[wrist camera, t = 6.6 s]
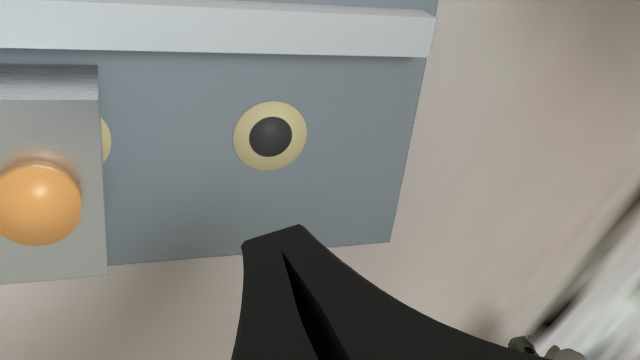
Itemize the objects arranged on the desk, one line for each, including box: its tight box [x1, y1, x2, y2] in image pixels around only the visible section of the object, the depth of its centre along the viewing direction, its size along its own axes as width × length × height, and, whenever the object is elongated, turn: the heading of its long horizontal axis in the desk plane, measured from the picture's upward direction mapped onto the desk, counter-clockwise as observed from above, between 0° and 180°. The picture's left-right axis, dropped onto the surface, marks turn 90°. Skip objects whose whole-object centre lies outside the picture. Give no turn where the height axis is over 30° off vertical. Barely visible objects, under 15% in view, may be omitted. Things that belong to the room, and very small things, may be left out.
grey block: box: [0, 64, 108, 285], centre depth 16 cm, size 3×5×4 cm, turn 174°
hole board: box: [0, 0, 438, 266], centre depth 17 cm, size 22×9×5 cm, turn 84°
